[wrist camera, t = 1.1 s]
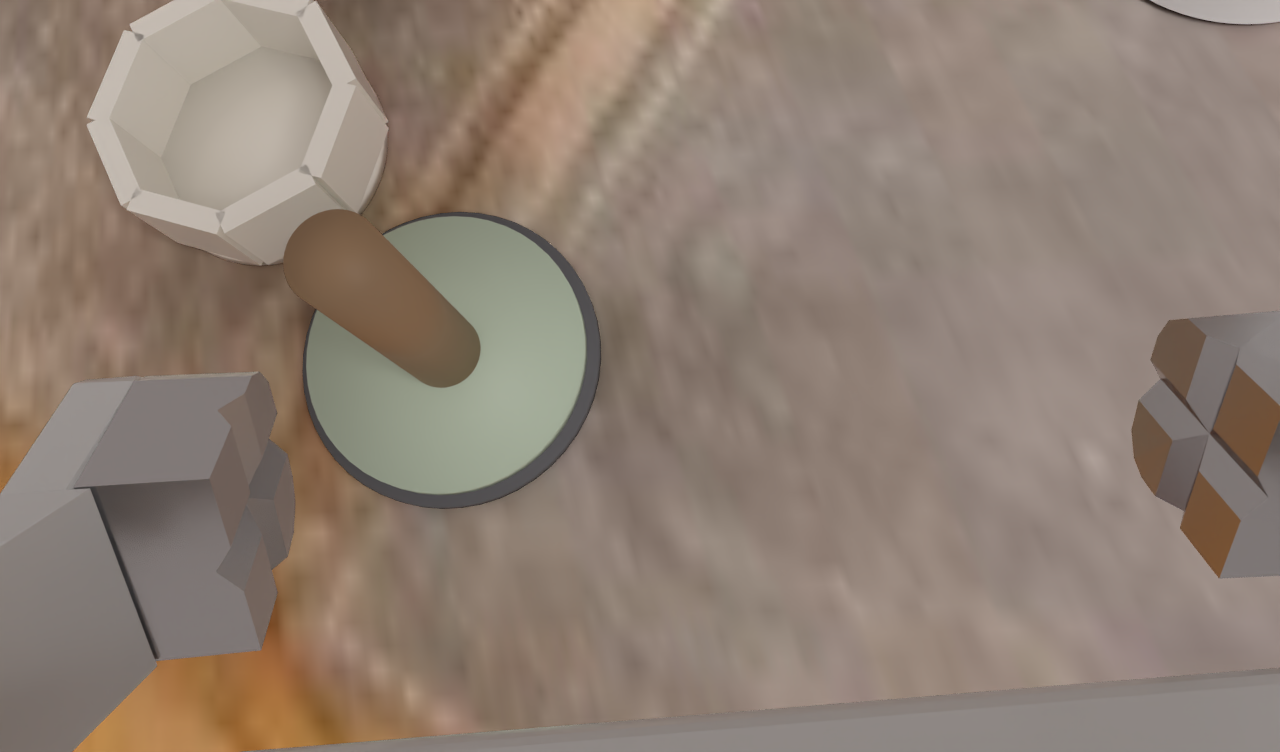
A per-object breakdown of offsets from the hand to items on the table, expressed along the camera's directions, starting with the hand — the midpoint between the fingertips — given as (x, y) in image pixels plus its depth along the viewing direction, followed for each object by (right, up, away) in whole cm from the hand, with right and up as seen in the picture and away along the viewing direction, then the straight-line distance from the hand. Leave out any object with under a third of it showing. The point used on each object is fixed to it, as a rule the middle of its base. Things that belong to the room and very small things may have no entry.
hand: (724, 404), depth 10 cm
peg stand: (-9, +1, +36) cm, 37 cm away
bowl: (-18, +11, +40) cm, 45 cm away
